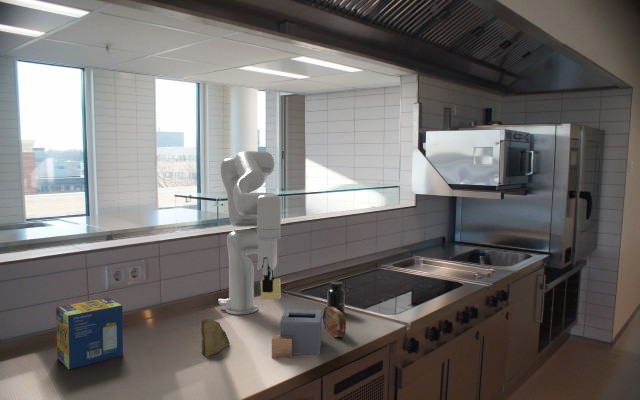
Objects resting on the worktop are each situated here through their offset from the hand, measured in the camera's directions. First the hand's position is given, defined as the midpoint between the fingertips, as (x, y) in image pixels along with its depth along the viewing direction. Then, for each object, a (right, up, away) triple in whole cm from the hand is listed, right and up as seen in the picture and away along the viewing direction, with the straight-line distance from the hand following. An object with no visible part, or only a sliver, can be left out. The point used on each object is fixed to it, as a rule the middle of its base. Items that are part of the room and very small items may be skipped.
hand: (268, 290), depth 152 cm
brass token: (+1, -2, 0) cm, 3 cm away
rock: (-16, -18, -5) cm, 24 cm away
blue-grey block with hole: (+11, -17, -1) cm, 21 cm away
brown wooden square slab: (+5, -18, -9) cm, 21 cm away
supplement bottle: (+23, -15, +33) cm, 43 cm away
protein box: (-51, -18, -12) cm, 55 cm away
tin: (+21, -17, +11) cm, 30 cm away
